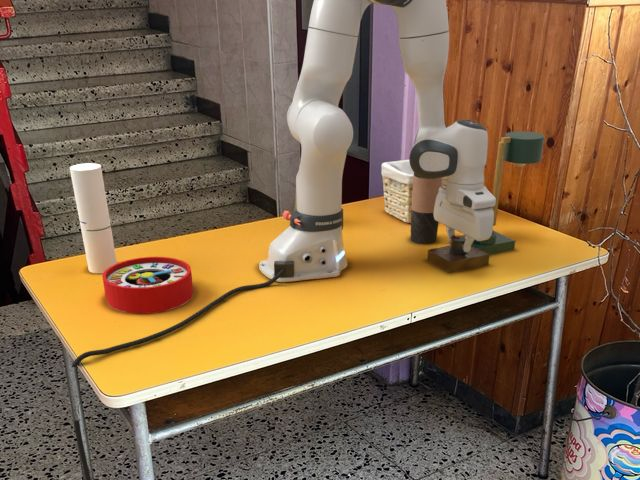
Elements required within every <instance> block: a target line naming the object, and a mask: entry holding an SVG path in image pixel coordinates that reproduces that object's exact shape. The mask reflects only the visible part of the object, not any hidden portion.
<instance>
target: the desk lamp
mask: <svg viewBox="0 0 640 480" xmlns="http://www.w3.org/2000/svg"><path fill="white" fill-rule="evenodd" d="M545 138H546V136H545V135H544V134H543V133H539V132H536V131H525V130H521V131H520V130H519V131H518V130H517V131H509V132H507V133H505V134H504V136H503V137H501V138H500V141H498V147H497V156H496V163H495V172H494V181H493V188H492V195H493V196H494V197H495V198H496V204H495V206H493V207H492V209H493V211H494V222H493V227H495V226H497V220H498V219H497V218H498V210H499V204H500V203H499V202H500V196H501V195H500V194H501V186H502V179H503V178H502V177H503V172H504V171H503V170H504V164H505V163H504V162H508V163H512V164H515V165H516V167H518V168H524V167H525V166H526V165H529V164H530V165H533V164H537V163H540V162H541V161H542V157H543V152H544V145H545V144H544V143H545Z"/></svg>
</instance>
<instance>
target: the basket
mask: <svg viewBox="0 0 640 480" xmlns="http://www.w3.org/2000/svg"><path fill="white" fill-rule="evenodd" d="M380 165H381V177H382V184H383V185H382V186H383V199H384V200H383V201H384V212H385V213H386V214H389V215H390V216H393V217H394V218H395V219H398V220H400V221H402V222H404V223H408V224H411V208H412V193H413V179H414V172H413V170H412V169H411V166H410V162H409V159H403V160H395V161H385V162H382V163H381V164H380ZM443 184H446V185H447V177H442V185H443Z"/></svg>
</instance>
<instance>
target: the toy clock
mask: <svg viewBox="0 0 640 480" xmlns="http://www.w3.org/2000/svg"><path fill="white" fill-rule="evenodd" d="M101 276H102V282H103V288H104V289H103V290H104V296H105V300H106V303H107V305H108V306H109V307H110V308H112V309H114V310H116V311H119V312H123V313H126V314H127V313H129V314H143V315H144V314H155V313H161V312H166V311H170V310H173V309H176V308H177V309H178V308H179V307H181V306H183V305H185V304H187V303H189V302H190V301H191V300H192V299H193V296H194V293H195V292H194V285H193V275H192V267H191V266H190V265H189V263H187V262H186V261H185V260H182V259H178V258H175V257H169V256H168V257H167V256H145V257H144V256H143V257H136V258H131V259H127V260H123V261H120V262H117V264H114V265H112V266H110V267H109V268H107V269H106V270H105V271H104V272H103V273H102V275H101Z"/></svg>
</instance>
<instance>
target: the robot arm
mask: <svg viewBox="0 0 640 480" xmlns="http://www.w3.org/2000/svg"><path fill="white" fill-rule="evenodd" d="M371 4H374V5H385V6H390V7H391V8H392V9H393V10H394V13H395V16H396V21H397V31H398V47H399V53H400V59H401V62H402V66H403V70H404V72H405V73H406V75H407V76H408V77H409V78H410V80H411V81H412V83H413V86H414V90H415V94H416V103H417V105H416V106H417V117H418V129H417V133H416V136H415V139H414V142H413V146H412V147H411V150H410V154H409V159H408V160H409V162H410V166H411V169H412V170H413V172H414V173H415V174H416V175H417V176H419V177H421V178H424V179H433V178H441V177H447V185H446V184H443V185H442V186H441V187H440V188H439V192H438V194H437V197H436V201H435V206H434V213H433V215H434V219H435V220H436V221H438V223H439V224H442V225H444V226H445V231H446V234H447V244H449V245H450V244H451V237H452V235H455V236H456V231H457V232H458V233H460V234H463V235H465V239H466V241H465V243H464V244H462V248H461V250H462V251H464V252H469V251H470V250H471V244H472V243H473V241H474V240H477V241H483V240H487V239H489V238H490V237H491V235H492V230H493V228H494V226H493V222H494V211H493V209H492V207H493V206H495V204H496V198H495V197H494V196H493V193H491V192H490V191H489V190H488V188H487V186H486V185H485V173H484V172H485V166H486V164H487V161H488V150H489V149H488V148H489V135H488V131H487V129H486V127H485V126H484V125H483V124H482V123H480V122H478V121H474V120H471V119H457V120H455V122H453V123H452V124H451V125H449V126H447V123H446V118H445V117H446V116H445V102H444V101H445V100H444V99H445V98H444V79H445V75H446V71H447V67H448V60H449V53H450V23H449V14H448V6H447V0H313V1H312V7H311V11H310V15H309V22H308V28H307V35H306V41H305V47H304V55H303V60H302V61H303V62H302V66H301V71H300V74H299V78H298V81H297V84H296V87H295V91H294V94H293V98H292V102H291V103H290V105H289V107H288V109H287V112H286V124H287V127H288V129H289V133H290V134H291V136H292V137H293V138H294V140H296V141H297V142H298V143H300V149H301V150H300V151H301V153H300V161H299V167H298V171H297V173H296V177H295V194H296V202H297V208H296V209H295V211H294V210H293V213H292V212H290V211H289V210H284V211H283V213H282V218H283V219H285V220H286V221H289V224H290V225H289V226H287V228H286V229H284V230H283V231H282V232H281V233H280V234H279V235H278V236H277V237H276V238H275V239H273V240H272V241H271V242H270V243H269V246H268V251H267V258H266V259H264V260H261V261H260V262H259V264H258V265H259V266H258V268H259V271H260V272H261V274H263V275H264V276H265V277H266V278H268V279H270V280H268V281H265V282H262V283H258V284H249V285H248V284H247V285H241V286H238V287H235V288H233V289H230V290H228V291H227V292H226V293H224V294H222V295H221V296H219V297H218V298H215V299H214V300H213V301H211V302H210V303H209V304H207V305H205V306H204V307H203V308H201V309H200V310H198V311H197V312H195V313H193V314H192V315H190V316H189V317H187V318H186V319H184V320H181V321H180V322H178V323H176V324H174V325H172V326H170V327H168V328H166V329H163V330H161V331H159V332H155V333H154V334H151V335H148V336H144V337H141V338H139V339H135V340H132V341H129V342H123V343H121V344H117V345H114V346H110V347H106V348H103V349H95V350H89V351H85V352H83V353H81V354H79V355H78V356H76V358H75V359H74V360H73V362H72V364H71V368H76V367H78V366H79V365H80V363H81V362H82V361H83V360H84V359H86V358H89V357H93V356H94V357H95V356H101V355H107V354H111V353H113V352H117V351H121V350H124V349H127V348H131V347H135V346H139V345H142V344H145V343H148V342H151V341H154V340H156V339H159V338H161V337H165V336H166V335H168V334H171V333H173V332H175V331H177V330H179V329H181V328H182V327H185V326H186V325H189V324H190V323H191V322H192V321H194V320H196V319H197V318H199V317H200V316H202V315H203V314H205V313H207V312H208V311H209V310H211V309H212V308H213V307H215V306H217V305H218V304H219V303H221V302H223V301H225V300H226V299H227V298H229V297H230V296H233V295H234V294H236V293H239V292H242V291H247V290H248V291H249V290H254V289H262V288H266V287H268V286H270V285H273V284H274V283H275V282H279V283H288V282H290V283H291V282H297V281H298V282H299V281H308V280H318V279H326V278H327V279H328V278H337V277H339V276H340V275H341V272H342V271H343V270H345V269H346V268H347V267H348V261H347V257H346V252H345V247H344V246H345V245H344V239H343V238H344V237H343V230H344V209H343V207H342V204H343V201H342V200H343V197H342V196H343V174H344V169H345V164H346V159H347V153H348V150H349V148H350V146H351V144H352V142H353V138H354V128H353V127H354V126H353V125H352V124H353V123H352V122H351V120H350V118H349V117H348V114H347V113H346V112H345V111H344V110H343V109H342V108H340V107H339V104H340V100H341V98H342V95H343V93H344V90H345V88H346V85H347V83H348V82H349V80H350V79H351V77H352V75H353V69H354V64H355V58H356V51H357V45H358V40H359V34H360V27H361V21H362V18H363V15H364V13H365V11H366V10H367V8H368V7H369V6H370V5H371ZM493 231H494V230H493ZM73 424H74V430H75V436H76V442H77V446H78V451H79V455H80V461H81V465H82V468H83V472H84V478H85V480H92V478H91V477H92V476H91V474H90V469H89V465H88V462H87V455H86V452H85V447H84V441H83V436H82V431H81V425H80V419H77V420H74V421H73Z"/></svg>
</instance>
